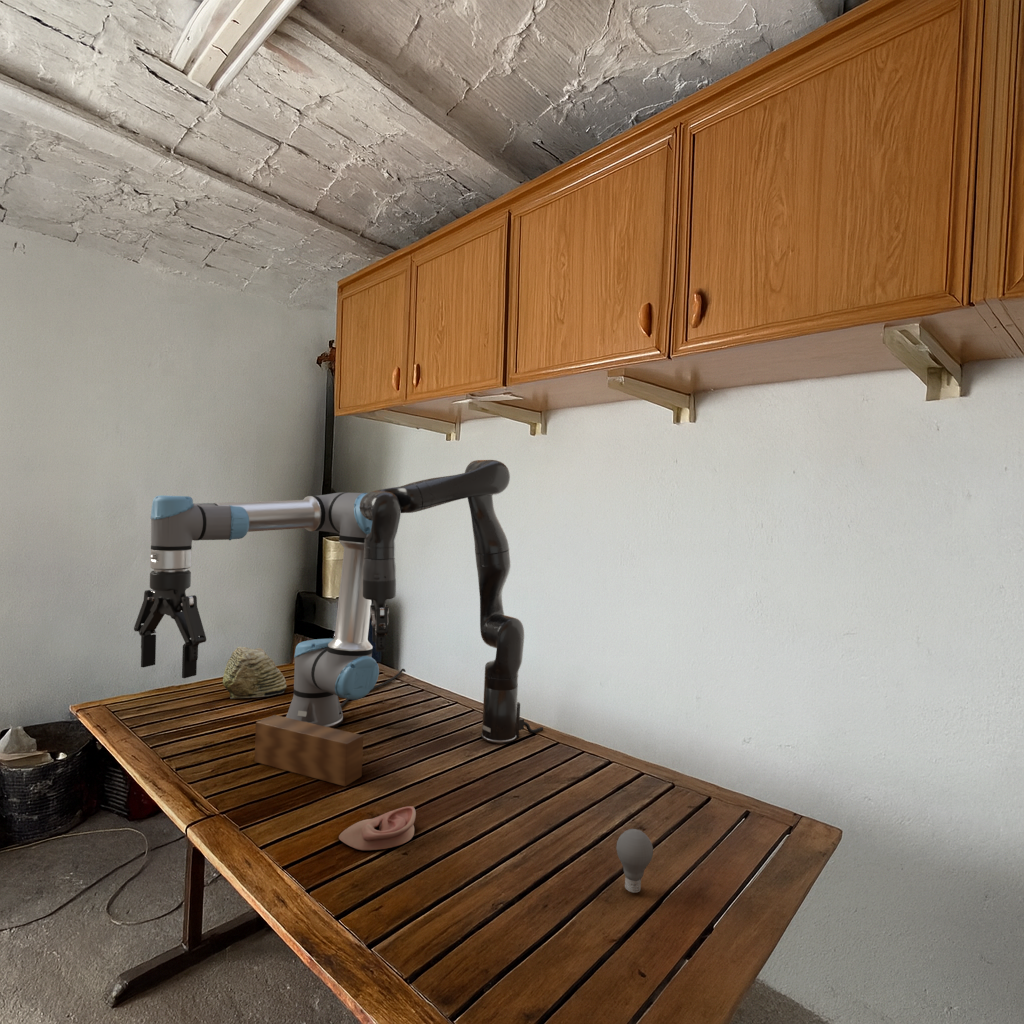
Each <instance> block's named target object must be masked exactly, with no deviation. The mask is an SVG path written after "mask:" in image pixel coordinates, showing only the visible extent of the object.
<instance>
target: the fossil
mask: <svg viewBox="0 0 1024 1024" xmlns="http://www.w3.org/2000/svg"><path fill="white" fill-rule="evenodd" d="M222 676H223V677H222V685H223V687H224V688H225V690H226V691H228V693H229V698H230V699H250V698H264V697H271V696H275V695H281V694H284V693H285V691H286V689H287V687H288V686H287V680H286V678H285V676H284V674H283V673H282V672H281V669H279V668H278V667H277V665H276V663H275V662H274V660H273V659H272V658H271V657H270V656H269V655H268V654H267V653H266V652H265V650H264V649H263V648H260V647H258V648H251V647H247V646H246V647H245V646H238V647H237V648H236V649H235V650H233V651H232V653H231V656H230V657H229V659H228V660H227V663H226V666H225V668H224V671H223V675H222Z"/></svg>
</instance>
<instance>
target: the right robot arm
mask: <svg viewBox="0 0 1024 1024" xmlns="http://www.w3.org/2000/svg"><path fill="white" fill-rule="evenodd" d="M510 481H511V473H510V470H509V468H508V467H507V465H506V464H505V463H504V462H502V461H499V460H497V459H476V460H472V461H471V462H469V463H468V464H467V466H466V468H465V471H464V472H462V473H458V474H452V475H445V476H438V477H432V478H427V479H422V480H417V481H414V482H410V483H409V482H408V483H407V484H403V485H400V486H395V487H387V488H381V489H376V490H372V491H369V492H366V493H367V494H366V495H365V496H364V497H363V498H362V499H361V502H360V512H361V514H362V515H363V516H364V517H365V518H366V519H368V520H371V521H372V527H371V532H370V533H369V534H367V535H366V537H365V541H364V564H363V597H364V598H365V599H368V600H371V601H372V602H371V605H370V623H371V627H372V642H373V643H374V644H375V652H377V653H379V652H381V653H382V652H386V650H387V635H388V633H389V628H388V627H389V613H390V609H389V606H388V604H386V601H387V600H392V599H394V598H396V595H397V563H396V537H397V534H398V530H399V527H400V521H401V517H402V516H401V515H402V514H412V513H417V512H422V511H425V510H429V509H432V508H436V507H438V506H441V505H445V504H448V503H451V502H455V501H459V500H463V499H467V502H468V507H469V511H470V518H471V526H472V534H473V542H474V543H473V545H474V555H475V564H476V570H477V580H478V591H479V593H478V594H479V629H480V631H479V632H480V637H481V639H482V641H483V643H484V644H485V645H487V646H488V647H490V648H492V649H493V648H494V649H496V652H495V658H494V660H493V659H492V660H489V661H488V662H486V663H485V665H484V678H483V679H484V680H483V701H482V702H483V703H482V705H483V706H482V727H481V739H482V740H483V741H485V742H487V743H490V744H497V745H504V744H505V745H506V744H511V743H514V742H515V741H516V740H517V739H519V738H520V731H522V730H524V728H526V730H527V732H528V733H530V734H537V733H540V732H543V731H544V727H543V726H541V727H538V728H534V729H532V728H531V726H530V724H529V723H527V722H526V721H525V718H523V717H521V703H520V701H518V699H519V678H520V676H519V675H520V669H521V666H522V663H523V658H524V648H525V627H524V624H523V621H521V620H520V619H519V618H517V617H514V616H510V615H507V614H505V612H504V604H503V603H504V602H503V595H504V589H505V586H506V583H507V581H508V580H509V579H508V578H509V576H510V572H511V568H512V560H511V551H510V543H509V539H508V536H507V535H506V532H505V531H504V529H503V527H502V524H501V523H500V521H499V519H498V517H497V514H496V510H495V507H494V499H493V498H494V497H493V496H497V495H499V494H501V493H504V491H505V490H506V489H508V486H509V484H510Z"/></svg>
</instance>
